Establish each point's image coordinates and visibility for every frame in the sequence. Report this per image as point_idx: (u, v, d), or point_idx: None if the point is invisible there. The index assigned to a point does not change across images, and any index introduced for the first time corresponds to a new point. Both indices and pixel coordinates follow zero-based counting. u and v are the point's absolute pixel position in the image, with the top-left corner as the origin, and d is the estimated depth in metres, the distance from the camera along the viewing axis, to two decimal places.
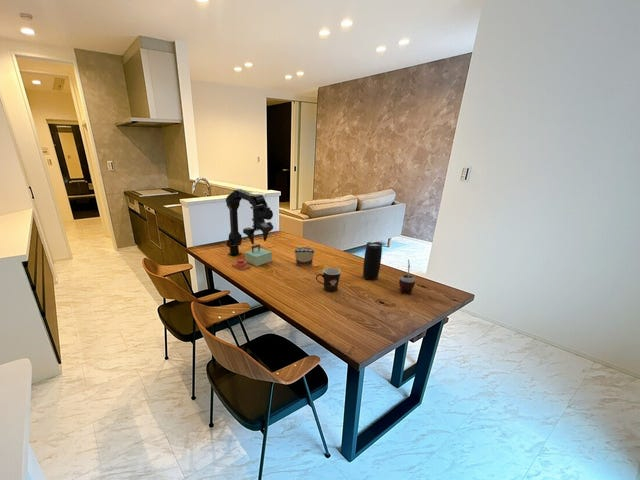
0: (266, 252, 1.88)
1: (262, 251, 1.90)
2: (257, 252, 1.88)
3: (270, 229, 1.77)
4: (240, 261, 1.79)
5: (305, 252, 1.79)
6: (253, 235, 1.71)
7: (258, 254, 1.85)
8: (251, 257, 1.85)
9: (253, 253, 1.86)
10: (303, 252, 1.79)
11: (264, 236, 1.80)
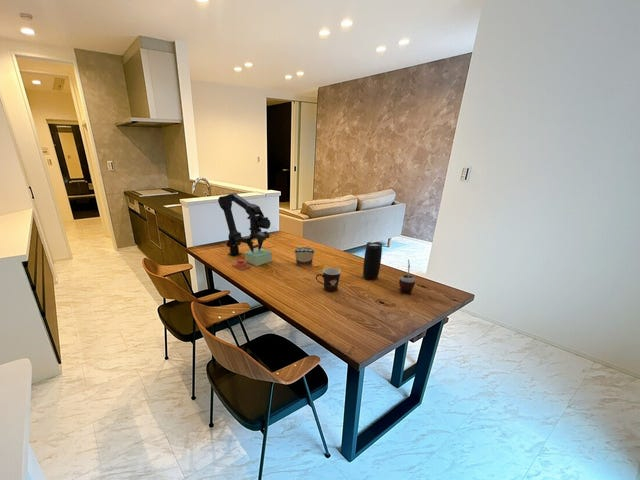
0: (266, 252, 1.88)
1: (262, 251, 1.90)
2: (257, 252, 1.88)
3: None
4: (240, 261, 1.79)
5: (305, 252, 1.79)
6: (252, 243, 1.83)
7: (258, 254, 1.85)
8: (251, 257, 1.85)
9: (253, 253, 1.86)
10: (303, 252, 1.79)
11: None
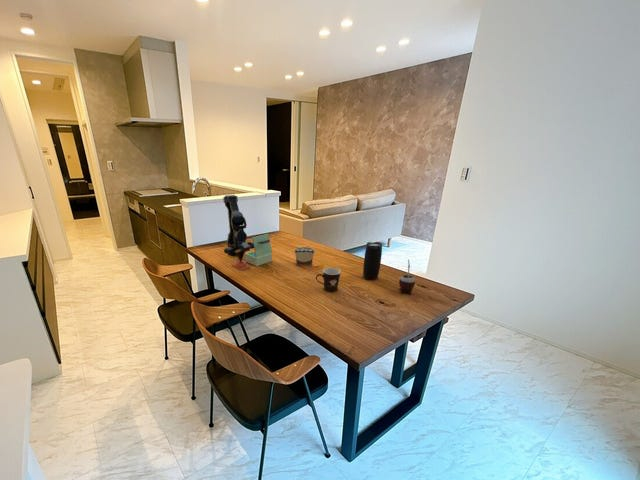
0: (268, 250, 1.86)
1: (266, 245, 1.85)
2: (261, 245, 1.82)
3: (251, 248, 1.80)
4: (240, 262, 1.79)
5: (305, 252, 1.79)
6: (240, 253, 1.76)
7: (260, 251, 1.82)
8: (251, 257, 1.85)
9: (258, 246, 1.81)
10: (303, 252, 1.79)
11: None
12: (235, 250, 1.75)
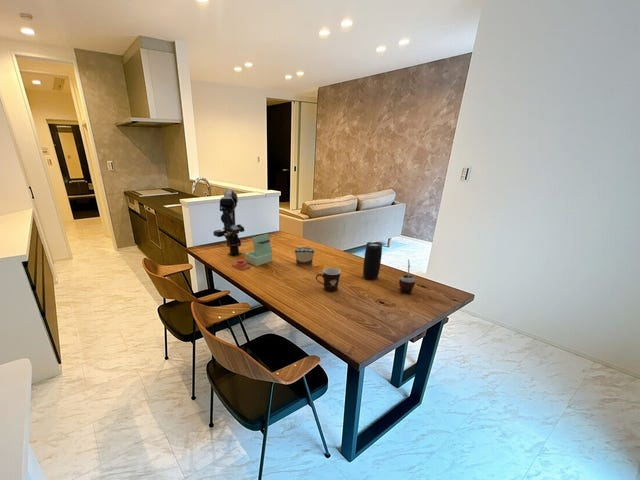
0: (268, 250, 1.86)
1: (266, 245, 1.85)
2: (261, 245, 1.82)
3: (241, 231, 1.79)
4: (240, 261, 1.79)
5: (305, 252, 1.79)
6: (229, 236, 1.76)
7: (260, 251, 1.82)
8: (251, 257, 1.85)
9: (258, 246, 1.81)
10: (303, 252, 1.79)
11: None
12: (224, 233, 1.75)
